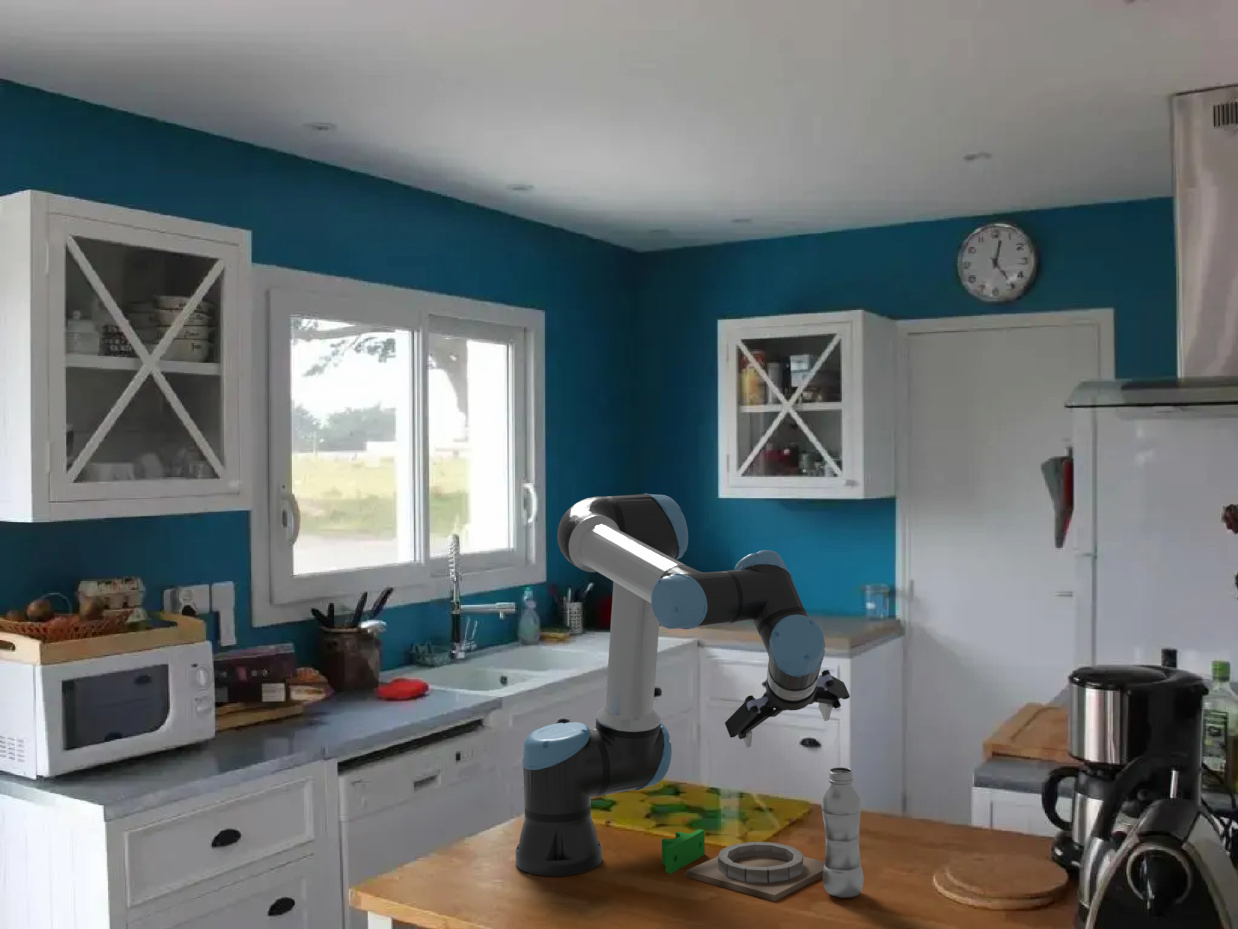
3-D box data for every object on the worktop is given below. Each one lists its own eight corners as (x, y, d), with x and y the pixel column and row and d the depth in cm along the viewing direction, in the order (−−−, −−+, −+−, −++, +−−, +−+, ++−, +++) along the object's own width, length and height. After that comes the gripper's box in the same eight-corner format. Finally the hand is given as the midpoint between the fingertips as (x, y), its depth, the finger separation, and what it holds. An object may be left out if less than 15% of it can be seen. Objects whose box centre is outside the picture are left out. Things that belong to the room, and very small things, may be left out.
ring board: (685, 876, 203) (685, 858, 203) (748, 848, 216) (748, 831, 216) (774, 901, 191) (774, 882, 191) (835, 870, 204) (835, 852, 204)
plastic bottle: (869, 891, 194) (867, 767, 194) (855, 905, 188) (852, 778, 188) (831, 885, 197) (829, 763, 197) (816, 898, 192) (813, 773, 191)
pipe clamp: (686, 852, 216) (686, 826, 216) (704, 856, 214) (704, 830, 214) (652, 870, 207) (652, 843, 207) (671, 874, 204) (670, 847, 204)
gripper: (722, 728, 176) (721, 772, 195) (880, 675, 179) (865, 723, 197) (704, 682, 180) (705, 729, 198) (859, 630, 183) (846, 682, 201)
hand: (784, 726), depth 198 cm, fingers open, 13 cm apart
